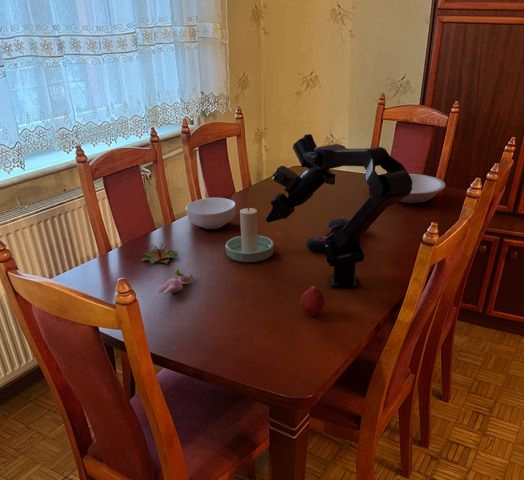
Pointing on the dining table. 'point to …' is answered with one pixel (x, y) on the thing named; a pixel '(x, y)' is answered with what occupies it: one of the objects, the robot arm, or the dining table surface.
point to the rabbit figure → (175, 283)
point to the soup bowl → (423, 188)
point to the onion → (312, 301)
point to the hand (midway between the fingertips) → (273, 215)
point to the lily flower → (159, 255)
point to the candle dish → (236, 253)
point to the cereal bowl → (211, 212)
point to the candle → (249, 230)
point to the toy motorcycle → (319, 242)
